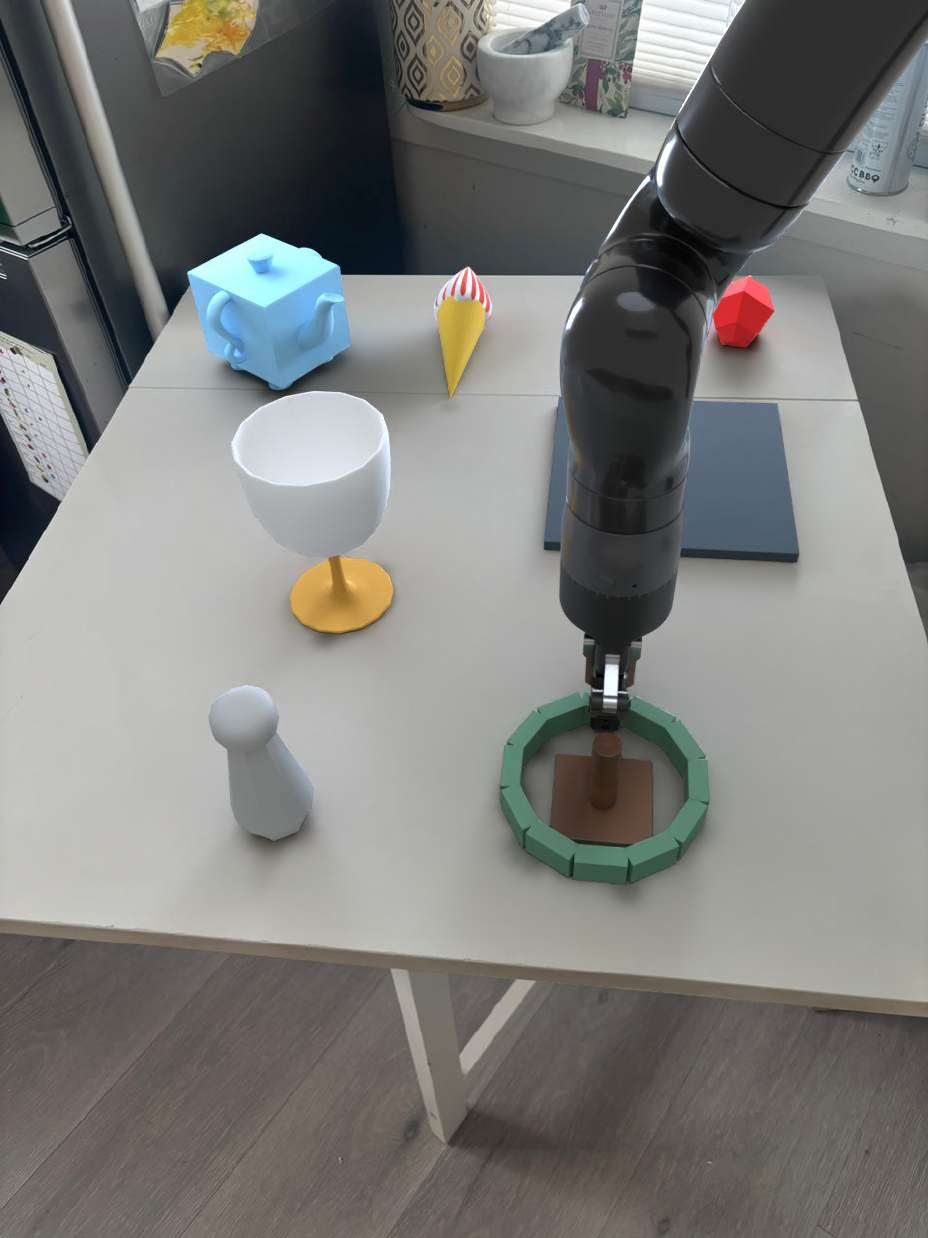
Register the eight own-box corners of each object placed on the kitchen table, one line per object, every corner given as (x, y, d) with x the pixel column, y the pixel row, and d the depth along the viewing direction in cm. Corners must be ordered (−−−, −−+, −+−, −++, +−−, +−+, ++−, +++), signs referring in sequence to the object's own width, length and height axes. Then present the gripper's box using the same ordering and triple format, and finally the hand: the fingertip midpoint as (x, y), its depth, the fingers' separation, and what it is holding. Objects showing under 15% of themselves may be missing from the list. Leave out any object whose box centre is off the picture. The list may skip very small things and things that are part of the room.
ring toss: (651, 768, 73) (661, 705, 67) (651, 853, 68) (662, 793, 62) (555, 760, 73) (557, 698, 68) (549, 844, 69) (550, 785, 63)
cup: (299, 665, 81) (256, 506, 68) (257, 575, 88) (211, 417, 76) (430, 615, 84) (412, 455, 71) (379, 533, 91) (354, 374, 79)
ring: (700, 718, 75) (704, 698, 74) (708, 892, 66) (713, 874, 64) (511, 705, 77) (511, 685, 75) (492, 872, 67) (491, 855, 66)
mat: (776, 411, 101) (777, 402, 100) (797, 562, 86) (799, 553, 85) (558, 404, 103) (558, 396, 103) (543, 549, 89) (543, 541, 88)
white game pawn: (246, 780, 74) (204, 669, 64) (323, 780, 73) (291, 668, 64) (231, 851, 70) (184, 743, 60) (312, 851, 69) (277, 743, 60)
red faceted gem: (763, 319, 102) (780, 258, 105) (698, 318, 106) (716, 259, 108) (770, 361, 108) (786, 303, 111) (708, 359, 111) (725, 302, 114)
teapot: (193, 373, 111) (162, 265, 101) (296, 313, 118) (275, 207, 109) (304, 433, 102) (280, 320, 93) (406, 364, 110) (394, 253, 100)
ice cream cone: (444, 426, 109) (462, 295, 118) (490, 406, 105) (505, 273, 115) (407, 393, 105) (429, 260, 114) (455, 371, 101) (473, 236, 111)
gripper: (682, 634, 58) (655, 796, 71) (677, 484, 67) (654, 651, 80) (553, 627, 59) (549, 788, 72) (566, 479, 68) (560, 646, 81)
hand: (604, 715), depth 76 cm, fingers closed on ring
